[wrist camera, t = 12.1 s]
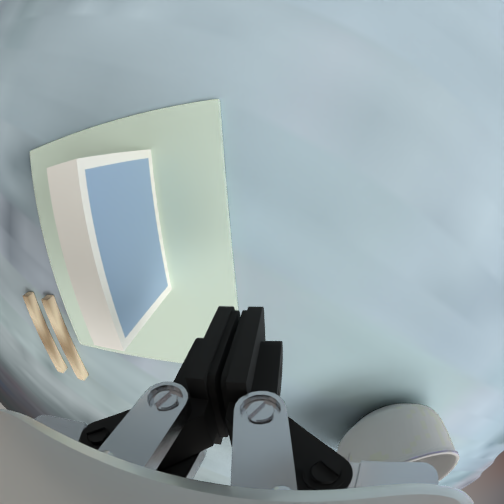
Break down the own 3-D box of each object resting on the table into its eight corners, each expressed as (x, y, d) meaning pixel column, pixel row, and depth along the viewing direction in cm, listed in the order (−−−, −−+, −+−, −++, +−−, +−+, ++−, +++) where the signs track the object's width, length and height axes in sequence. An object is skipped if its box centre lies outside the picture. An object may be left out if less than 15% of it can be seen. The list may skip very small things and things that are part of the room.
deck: (123, 154, 15) (46, 167, 9) (151, 149, 15) (76, 158, 9) (146, 288, 18) (94, 345, 12) (172, 289, 18) (124, 351, 12)
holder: (28, 291, 22) (22, 296, 21) (53, 295, 21) (47, 300, 20) (62, 366, 25) (57, 371, 25) (88, 374, 25) (84, 380, 24)
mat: (33, 150, 16) (29, 151, 16) (219, 99, 14) (218, 98, 13) (82, 341, 23) (80, 344, 22) (244, 365, 20) (243, 368, 20)
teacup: (318, 412, 21) (318, 491, 14) (435, 367, 18) (465, 441, 11) (356, 464, 25) (359, 518, 18) (440, 433, 22) (454, 486, 14)
